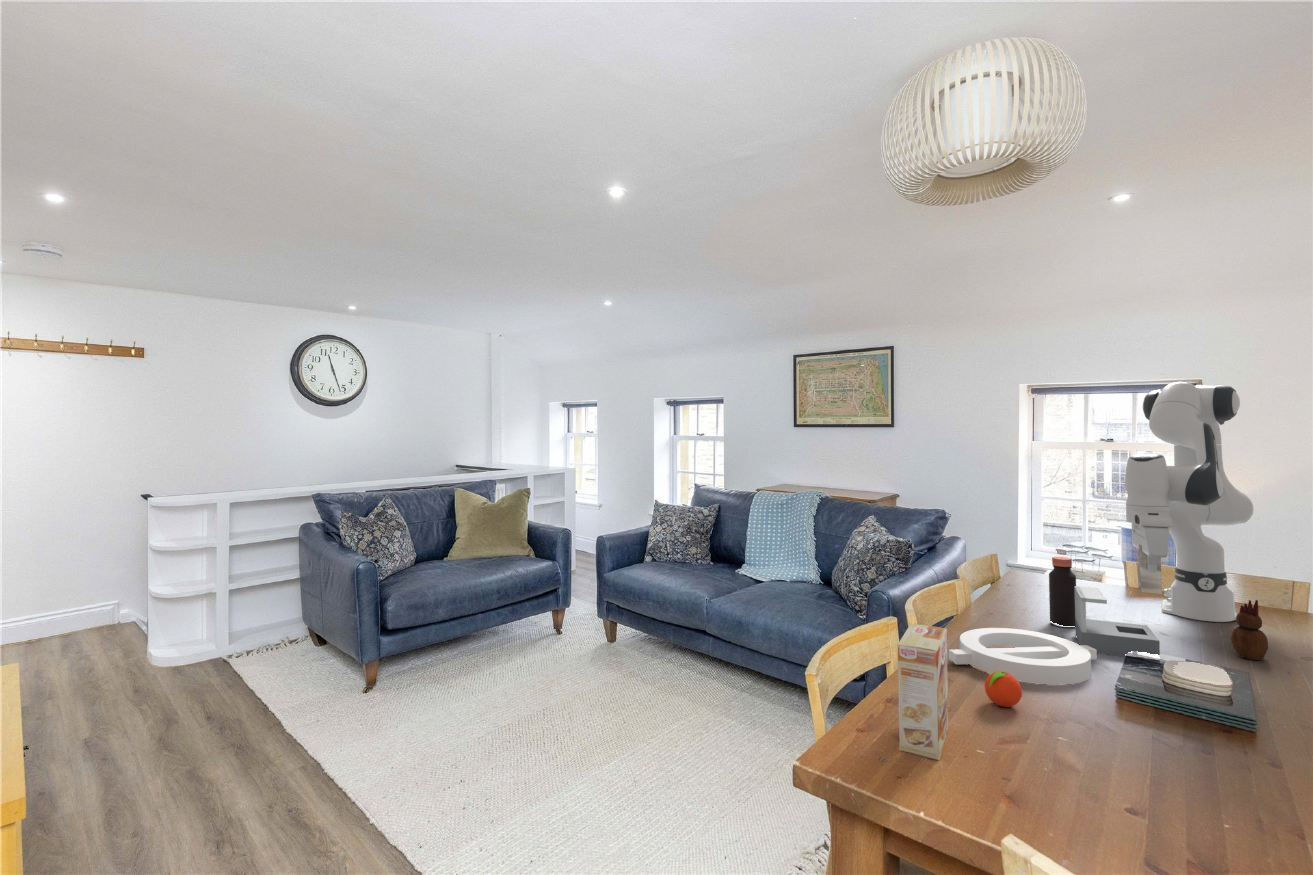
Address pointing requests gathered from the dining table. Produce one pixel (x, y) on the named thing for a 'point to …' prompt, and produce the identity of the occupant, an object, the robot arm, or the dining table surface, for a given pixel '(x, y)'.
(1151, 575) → the peg
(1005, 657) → the ring with crossbar
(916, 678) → the coffeecake box
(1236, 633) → the wooden figurine
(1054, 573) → the bottle
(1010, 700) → the clementine
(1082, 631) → the socket block
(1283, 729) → the dining table surface
